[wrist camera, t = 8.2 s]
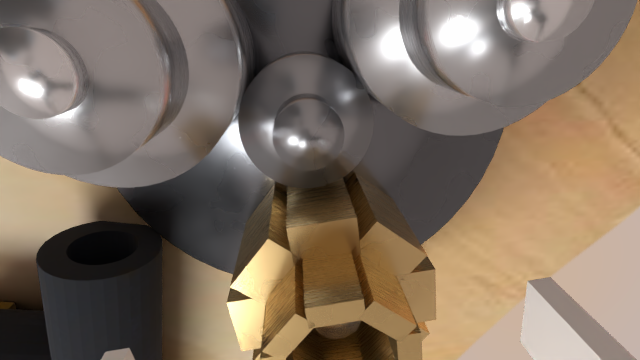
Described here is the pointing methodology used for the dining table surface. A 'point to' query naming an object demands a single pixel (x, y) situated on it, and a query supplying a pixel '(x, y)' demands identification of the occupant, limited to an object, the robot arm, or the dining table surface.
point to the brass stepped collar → (331, 276)
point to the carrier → (283, 99)
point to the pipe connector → (91, 297)
